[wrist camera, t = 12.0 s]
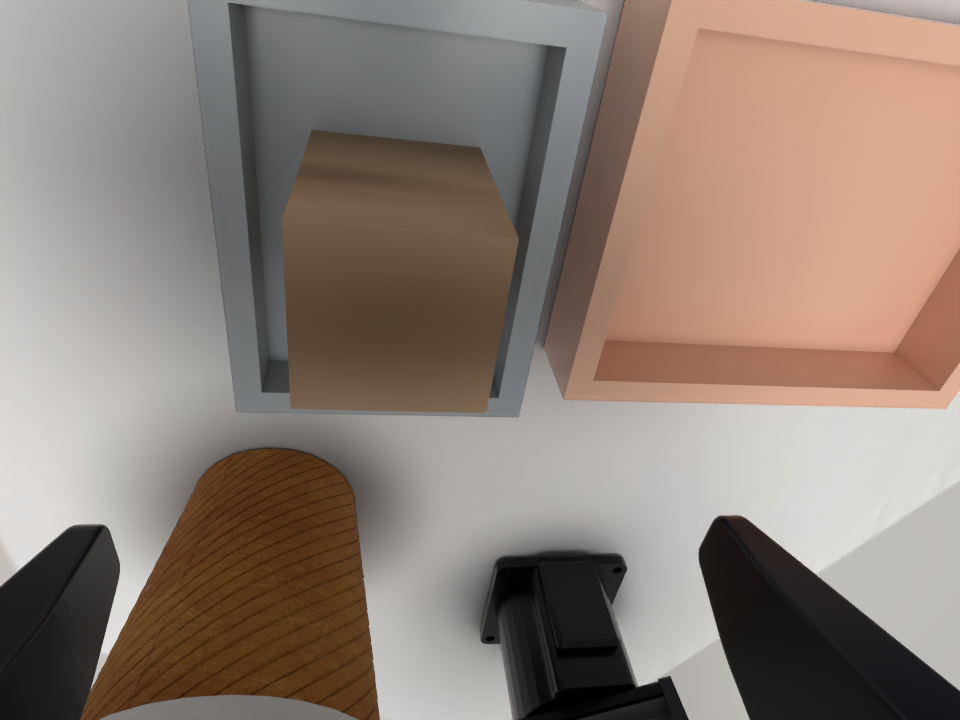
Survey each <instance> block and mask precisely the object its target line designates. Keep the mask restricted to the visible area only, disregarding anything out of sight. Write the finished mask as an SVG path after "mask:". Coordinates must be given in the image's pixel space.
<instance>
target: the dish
mask: <svg viewBox="0 0 960 720" xmlns="http://www.w3.org/2000/svg"><path fill="white" fill-rule="evenodd" d="M544 349H545V352H546V354H547V357H548V360H549V362H550V365H551V368H552V370H553V373H554V375H555V378H556V381H557V383H558V386H559V389H560V391H561V394H562V397H563V399H564V400H595V401H637V402H679V403H721V404H763V405H805V406H847V407H889V408H931V409H946V408H947V407H948V405H949V404H950V402H951V401H952V400H953V398H954V397H955V396H956V394H957V393H958V392H959V390H960V24H955V23H949V22H942V21H936V20H930V19H923V18H917V17H911V16H905V15H898V14H892V13H886V12H880V11H873V10H867V9H861V8H855V7H848V6H842V5H836V4H830V3H823V2H817V1H811V0H625V1H624V6H623V10H622V14H621V19H620V23H619V27H618V32H617V36H616V40H615V44H614V49H613V53H612V57H611V62H610V66H609V70H608V74H607V79H606V83H605V87H604V92H603V96H602V100H601V104H600V109H599V113H598V117H597V122H596V126H595V130H594V135H593V139H592V143H591V147H590V152H589V156H588V160H587V165H586V169H585V173H584V177H583V182H582V186H581V190H580V195H579V199H578V203H577V207H576V212H575V216H574V220H573V225H572V229H571V233H570V238H569V242H568V246H567V250H566V255H565V259H564V263H563V268H562V272H561V276H560V280H559V285H558V289H557V293H556V298H555V302H554V306H553V310H552V315H551V319H550V323H549V328H548V332H547V336H546V341H545V345H544Z"/></svg>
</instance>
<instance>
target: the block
mask: <svg viewBox="0 0 960 720" xmlns="http://www.w3.org/2000/svg"><path fill="white" fill-rule="evenodd" d="M282 240H283V261H284V282H285V303H286V324H287V345H288V366H289V387H290V408H291V409H319V410H364V411H408V412H453V413H486V412H487V407H488V402H489V396H490V391H491V386H492V380H493V375H494V370H495V364H496V359H497V354H498V348H499V343H500V338H501V333H502V327H503V322H504V317H505V311H506V306H507V301H508V295H509V290H510V285H511V279H512V274H513V269H514V263H515V258H516V253H517V247H518V242H519V238H518V235H517V233H516V231H515V228H514V226H513V224H512V221H511V219H510V217H509V214H508V212H507V210H506V207H505V205H504V202H503V200H502V198H501V195H500V193H499V191H498V188H497V186H496V184H495V181H494V179H493V177H492V174H491V172H490V170H489V167H488V165H487V163H486V160H485V158H484V156H483V153H482V151H481V149H480V147H471V146H462V145H452V144H442V143H433V142H423V141H414V140H404V139H394V138H385V137H375V136H365V135H356V134H346V133H337V132H327V131H317V130H311V133H310V136H309V139H308V142H307V145H306V148H305V151H304V154H303V157H302V160H301V163H300V166H299V170H298V173H297V176H296V179H295V182H294V185H293V188H292V191H291V194H290V197H289V200H288V203H287V206H286V209H285V212H284V215H283V218H282Z"/></svg>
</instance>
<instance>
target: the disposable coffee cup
mask: <svg viewBox="0 0 960 720" xmlns="http://www.w3.org/2000/svg"><path fill="white" fill-rule="evenodd" d="M358 538H359V534H358V527H357V517H356V507H355V497H354V494H353V490H352V488H351V486H350V484H349V483H348V481H347V480H346V478H345V477H344V476H343V475H342V474H341V473H340V472H339V471H338V470H337V469H336V468H334V467H333V466H331V465H330V464H328V463H327V462H325V461H323V460H321V459H318V458H316V457H314V456H312V455H308V454H304V453H301V452H297V451H293V450H284V449H257V450H250V451H245V452H241V453H237V454H233V455H231V456H229V457H227V458H225V459H223V460H221V461H219V462H217V463H216V464H214V465H213V466H212V467H210V468H209V469H208V470H207V471H206V472H205V473H204V474H203V476H202V477H201V478H200V479H199V481H198V483H197V485H196V488H195V490H194V492H193V494H192V496H191V498H190V500H189V502H188V504H187V505H186V507H185V510H184V512H183V513H182V515H181V517H180V519H179V520H178V523H177V525H176V527H175V529H174V530H173V532H172V534H171V536H170V538H169V540H168V542H167V544H166V546H165V547H164V549H163V551H162V554H161V556H160V558H159V559H158V561H157V563H156V565H155V567H154V569H153V571H152V573H151V575H150V577H149V578H148V580H147V582H146V585H145V586H144V588H143V590H142V592H141V593H140V595H139V598H138V600H137V602H136V604H135V606H134V608H133V609H132V611H131V613H130V615H129V617H128V619H127V622H126V623H125V625H124V627H123V629H122V630H121V632H120V634H119V637H118V639H117V641H116V643H115V644H114V646H113V648H112V650H111V652H110V654H109V656H108V658H107V661H106V663H105V664H104V666H103V667H102V669H101V671H100V673H99V675H98V677H97V680H96V682H95V684H94V685H93V687H92V689H91V691H90V693H89V695H88V698H87V701H86V704H85V707H84V710H83V713H82V715H81V718H80V720H380V717H379V709H378V701H377V699H378V698H377V690H376V683H375V672H374V665H373V653H372V645H371V637H370V630H369V620H368V613H367V603H366V596H365V594H366V593H365V586H364V580H363V578H364V575H363V569H362V566H361V565H362V560H361V553H360V551H361V550H360V543H359V539H358Z"/></svg>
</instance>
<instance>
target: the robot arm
mask: <svg viewBox="0 0 960 720" xmlns="http://www.w3.org/2000/svg"><path fill="white" fill-rule="evenodd" d="M699 563H700V567H701V571H702V574H703V578H704V582H705V585H706V589H707V592H708V596H709V600H710V603H711V607H712V611H713V614H714V618H715V621H716V625H717V629H718V632H719V636H720V639H721V643H722V646H723V649H724V652H725V655H726V658H727V661H728V664H729V666H730V669H731V672H732V674H733V677H734V679H735V682H736V685H737V687H738V690H739V693H740V695H741V698H742V700H743V703H744V705H745V708H746V711H747V713H748V716H749V718H750V720H960V691H959V690H958V689H957V688H956V687H954V686H953V685H952V684H951V683H949V682H948V681H947V680H946V679H944V678H943V677H942V676H941V675H939V674H938V673H937V672H936V671H935V670H933V669H932V668H931V667H930V666H928V665H927V664H926V663H925V662H923V661H922V660H921V659H920V658H918V657H917V656H916V655H915V654H913V653H912V652H911V651H910V650H909V649H907V648H906V647H905V646H904V645H902V644H901V643H900V642H899V641H897V640H896V639H895V638H894V637H892V636H891V635H890V634H889V633H887V632H886V631H885V630H884V629H882V628H881V627H880V626H879V625H878V624H876V623H875V622H874V621H873V620H871V619H870V618H869V617H868V616H866V615H865V614H864V613H863V612H861V611H860V610H859V609H858V608H856V607H855V606H854V605H852V603H850V602H849V601H848V600H846V599H845V598H844V597H843V596H842V595H840V594H839V593H838V592H837V591H835V590H834V589H833V588H832V587H830V586H829V585H828V584H827V583H826V582H824V581H823V580H822V579H821V578H819V577H818V576H817V575H816V574H814V573H813V572H812V571H811V570H809V569H808V568H807V567H806V566H804V565H803V564H802V563H801V562H800V561H798V560H797V559H796V558H795V557H793V556H792V555H791V554H790V553H788V552H787V551H786V550H785V549H783V548H782V547H781V546H780V545H778V544H777V543H776V542H775V541H773V540H772V539H771V538H770V537H769V536H767V535H766V534H765V533H764V532H762V531H761V530H760V529H759V528H757V527H756V526H755V525H754V524H752V523H751V522H750V521H749V520H747V519H746V518H744V517H742V516H737V515H732V516H718V517H717V518H715V519H714V521H713V522H712V524H711V526H710V528H709V530H708V532H707V534H706V536H705V538H704V540H703V542H702V543H701V545H700V548H699ZM626 571H627V566H626V563H625V561H624V559H623V558H621V557H593V558H554V559H514V560H503V561H500V562H499V563H497V564H496V566H495V570H494V574H493V578H492V583H491V587H490V591H489V595H488V600H487V604H486V608H485V612H484V616H483V621H482V625H481V629H480V637H481V642H482V643H485V644H498V643H500V644H501V650H502V656H503V662H504V668H505V674H506V680H507V687H508V693H509V699H510V705H511V711H512V717H513V720H689V719H688V717H687V715H686V712H685V710H684V708H683V705H682V703H681V701H680V698H679V696H678V693H677V691H676V688H675V686H674V684H673V682H672V679H671V677H670V676H667V677H664V678H660V679H658V682H654V683H651V684H647V685H643V686H639V687H638V685H637V682H636V679H635V676H634V673H633V670H632V667H631V664H630V661H629V658H628V655H627V652H626V649H625V646H624V643H623V640H622V637H621V634H620V631H619V628H618V625H617V622H616V619H615V616H614V613H613V610H612V607H611V605H612V603H613V601H614V598H615V596H616V594H617V591H618V589H619V587H620V584H621V582H622V580H623V577H624V575H625V573H626ZM119 574H120V563H119V559H118V556H117V552H116V549H115V546H114V543H113V540H112V537H111V534H110V531H109V529H108V528H107V527H106V526H105V525H101V524H88V525H74V526H71V527H70V528H68V529H66V530H65V531H64V532H63V533H62V534H60V535H59V536H58V537H57V538H56V539H55V540H53V541H52V542H51V543H50V544H49V545H48V546H47V547H45V548H44V549H43V550H42V551H41V552H40V553H38V554H37V555H36V556H35V557H34V558H33V559H32V560H30V561H29V562H28V563H27V564H26V565H25V566H23V567H22V568H21V569H20V570H19V571H18V572H17V573H15V574H14V575H13V576H12V577H11V578H10V579H9V580H7V581H6V582H5V583H4V584H3V585H2V586H0V720H80V718H81V715H82V713H83V710H84V707H85V704H86V701H87V698H88V695H89V693H90V689H91V686H92V682H93V678H94V675H95V671H96V667H97V663H98V659H99V655H100V651H101V647H102V643H103V639H104V636H105V632H106V628H107V624H108V620H109V616H110V612H111V608H112V604H113V600H114V596H115V592H116V588H117V584H118V580H119Z"/></svg>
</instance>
